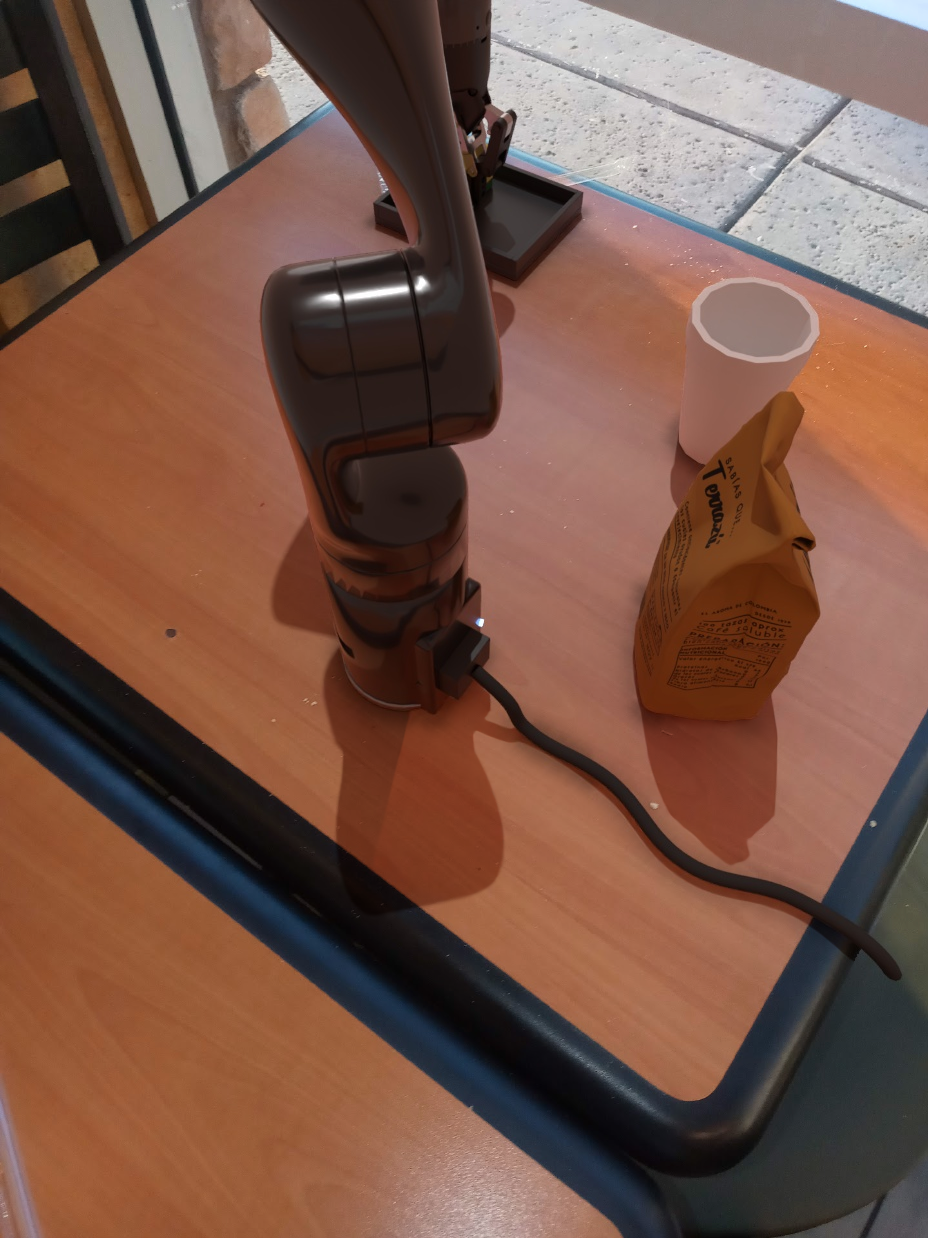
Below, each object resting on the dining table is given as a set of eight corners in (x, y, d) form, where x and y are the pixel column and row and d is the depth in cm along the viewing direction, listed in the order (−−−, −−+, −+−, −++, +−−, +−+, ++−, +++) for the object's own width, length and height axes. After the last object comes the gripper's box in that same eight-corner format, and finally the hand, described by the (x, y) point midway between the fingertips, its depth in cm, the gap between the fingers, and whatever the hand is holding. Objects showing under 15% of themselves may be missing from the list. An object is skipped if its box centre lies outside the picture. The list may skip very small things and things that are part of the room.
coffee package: (767, 594, 70) (876, 381, 51) (764, 739, 64) (887, 557, 45) (638, 574, 71) (699, 358, 52) (622, 715, 65) (685, 527, 46)
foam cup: (643, 413, 80) (671, 290, 69) (738, 390, 82) (781, 266, 70) (689, 492, 75) (726, 375, 64) (789, 467, 77) (843, 347, 66)
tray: (581, 211, 95) (583, 191, 93) (515, 281, 90) (516, 261, 88) (445, 159, 100) (445, 139, 98) (374, 222, 95) (372, 202, 93)
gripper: (358, 14, 81) (375, 190, 95) (494, 60, 77) (490, 237, 91) (407, -21, 84) (416, 155, 99) (540, 22, 80) (529, 199, 95)
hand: (452, 194), depth 95 cm, fingers closed on sponge, 5 cm apart
